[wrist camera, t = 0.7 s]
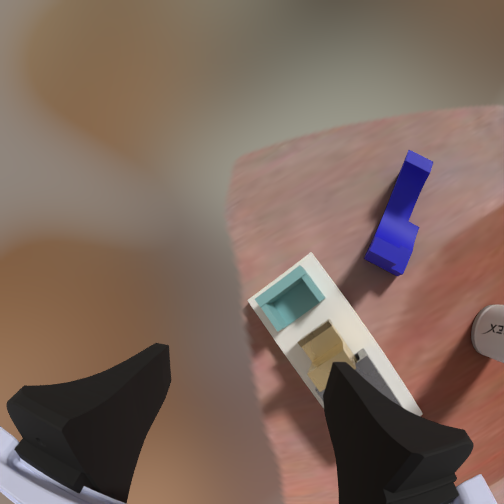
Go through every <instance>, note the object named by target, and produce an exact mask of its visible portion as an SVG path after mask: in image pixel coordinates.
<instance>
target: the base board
mask: <svg viewBox="0 0 504 504" xmlns="http://www.w3.org/2000/svg"><path fill="white" fill-rule="evenodd" d="M299 265H300V266H302V267H303V268H304V269H305V270H306V272H307V273H308V274H309V276H310V277H311V278H312V280H313V281H314V283H315V284H316V285H317V287H318V288H319V289H320V291H321V292H322V293H323V295H324V296H325V299H324V300H323V301H321V302H320V303H318V304H317V305H316V306H314V307H313V308H312V309H310V310H309V311H308V312H306V313H305V314H303V315H302V316H301V317H299V318H298V319H296V320H295V321H294V322H292V323H291V324H289V325H288V326H286V327H285V328H283V329H282V330H280V331H278V332H277V330H276V329H275V327H274V326H273V324H272V323H271V321H270V320H269V319H268V317H267V316H266V314H265V313H264V311H263V310H262V308H261V307H260V306H259V305H258V303H257V302H256V300H255V298H257V297H258V296H259V295H261V294H262V293H263V292H265V291H266V290H267V289H269V288H270V287H271V286H273V285H274V284H275V283H277V282H278V281H279V280H281V279H282V278H283V277H285V276H286V275H287V274H289V273H290V272H291V271H293V270H294V269H295V268H297V267H298V266H299ZM248 302H249V303H250V305H251V306H252V308H253V309H254V311H255V312H256V314H257V315H258V317H259V318H260V320H261V321H262V323H263V324H264V325H265V327H266V328H267V330H268V331H269V333H270V334H271V336H272V337H273V338H274V340H275V341H276V343H277V344H278V346H279V347H280V349H281V350H282V351H283V353H284V354H285V356H286V357H287V358H288V360H289V361H290V363H291V364H292V366H293V367H294V368H295V370H296V371H297V373H298V374H299V375H300V377H301V378H302V380H303V381H304V382H305V384H306V385H307V386H308V388H309V389H310V391H311V392H312V393H313V395H314V396H315V398H316V399H317V400H318V402H319V403H320V404H321V406H322V407H323V408H324V402H323V400H322V399H321V398H320V396H319V395H318V393H317V392H316V391H315V388H316V386H315V385H314V383H313V382H312V380H311V379H310V378H309V376H308V375H307V373H308V371H309V368H310V366H311V363H312V361H311V360H310V358H309V357H308V356H307V354H306V353H305V351H304V350H303V349H302V347H300V345H299V344H298V343H297V342H298V341H299V340H300V339H301V338H302V337H304V336H305V335H307V334H308V333H310V332H311V331H313V330H314V329H315V328H317V327H318V326H320V325H321V324H322V323H324V322H325V321H327V320H328V319H330V320H331V322H332V324H333V326H334V327H335V328H336V330H337V331H338V333H339V334H340V335H341V337H342V338H343V340H344V341H345V343H346V344H347V345H348V347H349V348H350V350H351V351H352V353H353V354H356V353H357V352H358V351H360V350H361V349H362V348H364V349H365V351H366V352H367V354H368V355H369V357H370V358H371V360H372V361H373V362H374V364H375V365H376V367H377V368H378V370H379V371H380V373H381V374H382V376H383V377H384V379H385V380H386V382H387V383H388V385H389V386H390V388H391V389H392V391H393V392H394V394H395V395H396V397H397V398H398V400H399V401H400V403H401V404H402V406H403V408H404V409H406V410H408V411H410V412H412V413H414V414H416V415H418V416H421V415H423V413H422V412H421V410H420V408H419V407H418V405H417V403H416V402H415V400H414V399H413V397H412V395H411V394H410V392H409V391H408V389H407V388H406V386H405V384H404V383H403V381H402V380H401V378H400V377H399V375H398V374H397V372H396V371H395V369H394V368H393V366H392V365H391V363H390V362H389V360H388V359H387V357H386V356H385V354H384V353H383V351H382V350H381V348H380V347H379V345H378V344H377V342H376V341H375V339H374V338H373V336H372V335H371V334H370V332H369V331H368V329H367V328H366V326H365V325H364V323H363V322H362V321H361V319H360V318H359V316H358V315H357V314H356V312H355V311H354V309H353V308H352V307H351V305H350V304H349V302H348V301H347V300H346V298H345V297H344V295H343V294H342V293H341V291H340V290H339V289H338V287H337V286H336V285H335V283H334V282H333V280H332V279H331V278H330V276H329V275H328V274H327V272H326V271H325V270H324V268H323V267H322V266H321V264H320V263H319V262H318V260H317V259H316V258H315V257H314V255H313V254H312V253H309V254H308V255H307V256H306V257H304V258H303V259H302V260H300V261H299V262H298V263H296V264H295V265H294V266H292V267H291V268H290V269H289V270H287V271H286V272H285V273H283V274H282V275H281V276H279V277H278V278H277V279H275V280H274V281H273V282H271V283H270V284H269V285H267V286H266V287H265V288H263V289H262V290H261V291H259V292H258V293H257V294H255V295H254V296H252V297H251V298H250V299H248Z"/></svg>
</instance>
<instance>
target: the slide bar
mask: <svg viewBox="0 0 504 504" xmlns="http://www.w3.org/2000/svg"><path fill="white" fill-rule="evenodd" d="M297 343H298V344H299V345H300V347H302V349H303V350H304V351H305V353H306V354H307V356H308V357H309V358H310V360H311V361H312V363H311V366H310V368H309V371H308V373H307V375H308V376H309V378H310V379H311V380H312V382H313V383H314V385H315V386H316V387H317V389H318V390H319V392H321V391H323V390H324V389H325V388H326V384H327V381H328V378H329V374H330V371H331V367H332V363H333V362H347V363H348V364H349V365H350V366H351V367H352V368H353V369H356V365H355V363H356V362H357V361H358V360H357V358H356V357H355V355H354V354H353V353H352V351H351V350H350V348H349V347H348V345H347V344H346V343H345V341H344V340H343V338H342V337H341V335H340V334H339V333H338V331H337V330H336V328H335V327H334V326H333V324H332V322H331V320H330V319H328V320H327V321H325V322H324V323H322V324H321V325H320V326H318V327H317V328H315V329H314V330H313V331H311V332H310V333H308V334H307V335H305V336H304V337H302V338H301V339H300V340H299V341H298V342H297Z"/></svg>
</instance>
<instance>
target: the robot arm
mask: <svg viewBox="0 0 504 504" xmlns="http://www.w3.org/2000/svg"><path fill="white" fill-rule="evenodd" d="M170 383H171V371H170V357H169V346H168V345H164V344H159V343H155V344H153V345H151V346H150V347H149V348H146V349H145V350H143V351H141V352H140V353H138V354H136V355H135V356H133V357H131V358H129V359H128V360H126V361H124V362H122V363H120V364H118V365H116V366H114V367H112V368H110V369H108V370H106V371H103V372H101V373H98V374H96V375H93V376H90V377H87V378H83V379H80V380H76V381H71V382H67V383H61V384H53V385H40V386H23V387H22V388H21V389H20V390H19V391H18V392H17V393H16V394H15V395H14V396H13V397H12V398H11V399H10V400H8V402H7V410H8V413H9V415H10V417H11V419H12V421H13V422H14V424H15V426H16V428H17V429H18V431H19V432H20V434H21V436H22V437H23V439H22V440H21V441H20V443H19V441H18V440H17V439H16V438H15V437H13V436H12V435H11V434H10V433H8V432H7V431H6V430H4V429H3V428H2V427H1V426H0V492H1V493H3V494H4V495H5V496H6V497H7V498H8V499H10V500H11V501H12V502H14V503H15V504H126V503H127V498H128V494H129V489H130V485H131V481H132V477H133V474H134V470H135V467H136V464H137V460H138V457H139V454H140V451H141V448H142V446H143V443H144V440H145V438H146V435H147V433H148V431H149V429H150V427H151V425H152V423H153V421H154V419H155V417H156V416H157V414H158V412H159V410H160V408H161V406H162V404H163V402H164V400H165V398H166V395H167V392H168V388H169V386H170ZM323 402H324V411H325V417H326V421H327V425H328V429H329V432H330V436H331V440H332V444H333V448H334V452H335V457H336V464H337V474H338V488H339V504H497V502H496V500H495V498H494V497H493V495H492V493H491V491H490V489H489V487H488V486H487V484H486V482H485V480H484V478H483V477H482V475H481V474H479V475H477V476H475V477H473V478H471V479H469V480H467V481H465V482H463V483H461V484H460V485H458V486H457V487H455V485H454V483H453V482H455V481H456V480H457V477H456V475H455V472H456V471H457V469H458V468H459V467H460V466H461V465H462V464H463V463H464V461H465V460H466V459H467V458H468V456H469V455H470V454H471V451H472V449H473V442H472V441H471V439H470V438H469V436H468V435H467V433H466V432H465V430H462V429H458V428H453V427H449V426H444V425H441V424H438V423H435V422H432V421H430V420H427V419H424V418H422V417H420V416H418V415H416V414H414V413H412V412H410V411H408V410H406V409H404V408H403V407H401V406H399V405H398V404H396V403H394V402H393V401H392V400H390V399H389V398H387V397H386V396H385V395H383V394H382V393H381V392H379V391H378V390H377V389H376V388H375V387H373V386H372V385H371V384H370V383H369V382H368V381H366V380H365V379H364V378H363V377H362V376H361V375H360V374H359V373H358V372H357V371H356V370H355V369H353V368H352V367H351V366H350V365H349V364H348V363H347V362H333V363H332V367H331V371H330V374H329V378H328V381H327V384H326V388H325V391H324V394H323Z"/></svg>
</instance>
